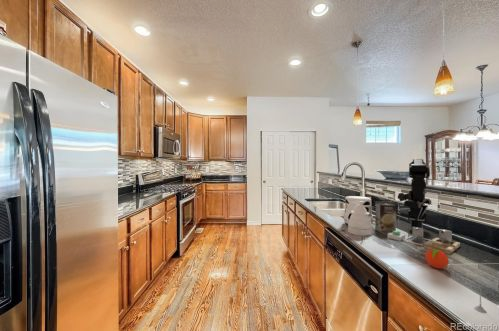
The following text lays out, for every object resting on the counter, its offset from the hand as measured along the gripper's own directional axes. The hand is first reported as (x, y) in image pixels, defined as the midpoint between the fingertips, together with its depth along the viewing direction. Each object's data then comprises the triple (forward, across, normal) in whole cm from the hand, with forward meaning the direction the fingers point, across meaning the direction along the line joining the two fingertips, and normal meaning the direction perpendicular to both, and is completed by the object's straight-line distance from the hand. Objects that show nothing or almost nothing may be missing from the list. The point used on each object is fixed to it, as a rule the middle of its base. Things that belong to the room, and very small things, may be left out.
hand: (417, 219), depth 116 cm
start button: (+10, +4, -8) cm, 14 cm away
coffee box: (+12, -8, -19) cm, 24 cm away
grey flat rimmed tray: (+12, 0, 0) cm, 12 cm away
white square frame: (+12, +4, -8) cm, 15 cm away
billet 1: (+12, 0, 0) cm, 12 cm away
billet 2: (+11, -4, +10) cm, 16 cm away
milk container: (+12, -6, -35) cm, 38 cm away
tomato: (+12, +27, +15) cm, 34 cm away
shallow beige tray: (+12, 0, +10) cm, 16 cm away
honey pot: (+12, +8, -26) cm, 30 cm away
